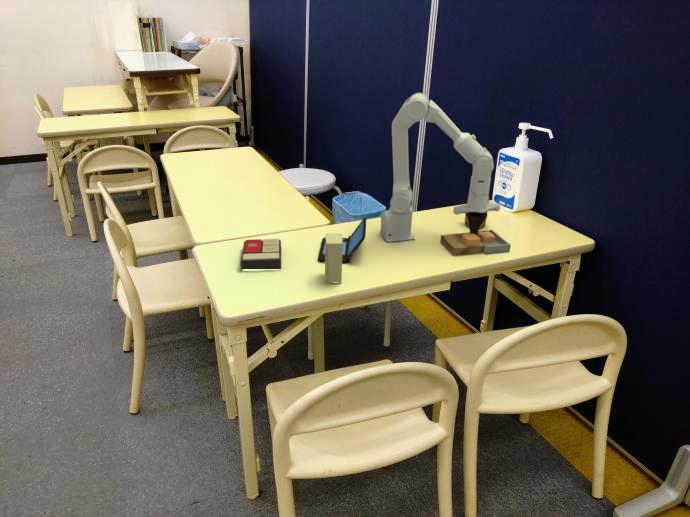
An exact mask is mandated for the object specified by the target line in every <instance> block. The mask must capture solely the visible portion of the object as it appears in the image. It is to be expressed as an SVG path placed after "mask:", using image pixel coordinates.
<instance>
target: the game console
mask: <svg viewBox="0 0 690 517" xmlns="http://www.w3.org/2000/svg"><path fill="white" fill-rule="evenodd" d="M366 231H367V217H365V216H364V217H363V218H362V220H361V221H360V222H359V224H358V226H356V228H355V229H354V230H353V232H352V233H351V235H349V236H348V237H342V241H343V251H342V264H347V263H349V264H350V260H351V257H352V256H354V254H355V252H356V251H357V250H358V248H359V247H360V246H361V245H362V243H363V242H364V241H365V239H366V234H367V232H366ZM317 261H318V262H319V263H322V262H325V237H323V238H322V239H321V243H320V248H319V252H318V257H317Z"/></svg>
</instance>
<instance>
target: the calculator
mask: <svg viewBox="0 0 690 517" xmlns="http://www.w3.org/2000/svg"><path fill="white" fill-rule="evenodd" d="M240 264H241V266H240V268H241V270H242V269H281V270H282V241H281V239H280V238H265V239H261V238H259V239H256V238H255V239H245V241H243V245H242V252H241V257H240Z"/></svg>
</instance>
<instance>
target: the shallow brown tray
mask: <svg viewBox="0 0 690 517" xmlns="http://www.w3.org/2000/svg"><path fill="white" fill-rule="evenodd" d="M465 234H471V233H470V231H469V232H468V231H467V232H462V233H461V232H459V233H450V234H441V235H440V238H439V239H440V241H439V242H440V244H441V245H442V246H443V247H444V248H445V249H446V250H447V251H448V252H449V253H450V254H451V255H452V256H453V257H458V255H460V256H468V254H469V255H477V254H485V253H484V250H485V245H484V244H483V243H482V242H481V241H480V245H474V246H467V245H466V244H464V243H463V242H462V235H465Z"/></svg>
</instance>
